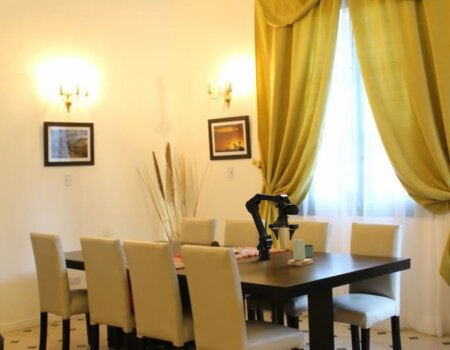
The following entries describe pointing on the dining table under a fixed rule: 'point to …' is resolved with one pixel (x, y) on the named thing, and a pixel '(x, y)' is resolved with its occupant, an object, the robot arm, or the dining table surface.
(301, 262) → the tan square coaster
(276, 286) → the dining table surface
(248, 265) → the dining table surface
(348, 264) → the dining table surface
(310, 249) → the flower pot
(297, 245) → the tea tin
